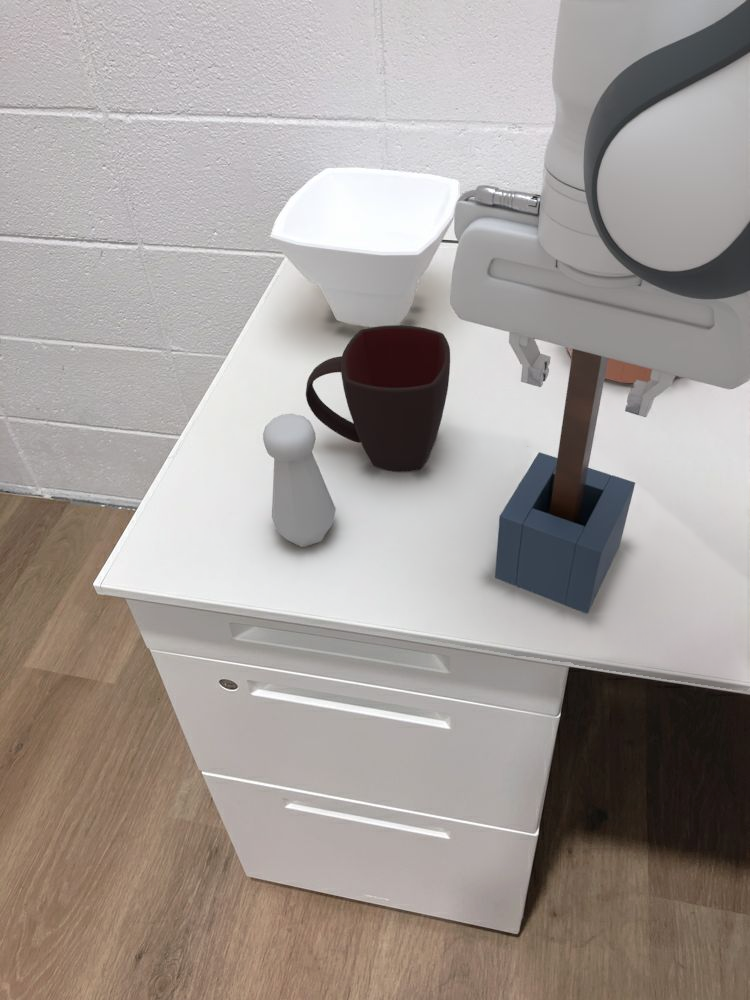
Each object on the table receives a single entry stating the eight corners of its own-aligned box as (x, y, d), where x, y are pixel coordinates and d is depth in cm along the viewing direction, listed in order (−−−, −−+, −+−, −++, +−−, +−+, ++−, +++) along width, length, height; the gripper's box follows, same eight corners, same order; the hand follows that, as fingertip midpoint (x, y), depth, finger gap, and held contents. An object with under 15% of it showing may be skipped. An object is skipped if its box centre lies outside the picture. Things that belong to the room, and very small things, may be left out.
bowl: (429, 370, 91) (428, 258, 81) (273, 345, 96) (254, 237, 86) (470, 283, 103) (473, 176, 92) (330, 265, 108) (318, 162, 98)
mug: (444, 490, 77) (444, 393, 69) (304, 480, 80) (287, 384, 71) (453, 423, 84) (455, 326, 75) (325, 415, 86) (312, 320, 78)
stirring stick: (571, 557, 71) (613, 328, 53) (563, 572, 70) (603, 344, 52) (550, 549, 72) (585, 321, 54) (542, 564, 70) (574, 337, 53)
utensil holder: (619, 545, 71) (635, 482, 66) (587, 614, 67) (601, 552, 61) (531, 514, 75) (538, 451, 69) (494, 577, 70) (499, 516, 64)
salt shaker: (346, 515, 76) (333, 409, 67) (324, 560, 72) (307, 455, 63) (290, 502, 78) (269, 398, 68) (265, 546, 74) (240, 441, 64)
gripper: (433, 201, 49) (434, 380, 59) (786, 273, 41) (719, 465, 51) (476, 160, 53) (470, 335, 63) (808, 218, 45) (742, 408, 55)
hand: (585, 394), depth 57 cm, fingers open, 6 cm apart
